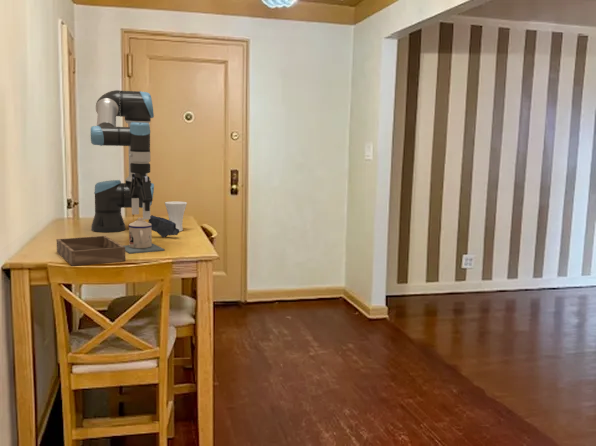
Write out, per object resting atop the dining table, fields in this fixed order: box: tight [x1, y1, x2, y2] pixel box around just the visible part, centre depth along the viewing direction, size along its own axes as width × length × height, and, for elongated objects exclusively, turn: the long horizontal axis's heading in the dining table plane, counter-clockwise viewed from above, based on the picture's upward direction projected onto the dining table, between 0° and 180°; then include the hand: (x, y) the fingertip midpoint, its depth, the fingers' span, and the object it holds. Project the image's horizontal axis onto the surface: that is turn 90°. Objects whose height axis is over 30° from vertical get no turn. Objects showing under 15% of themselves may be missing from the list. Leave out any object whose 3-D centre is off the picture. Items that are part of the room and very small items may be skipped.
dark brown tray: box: [56, 235, 126, 267], centre depth 204 cm, size 26×18×5 cm
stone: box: [148, 214, 181, 238], centre depth 247 cm, size 14×6×10 cm, turn 102°
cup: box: [164, 200, 188, 232], centre depth 267 cm, size 10×10×14 cm
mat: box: [123, 242, 166, 255], centre depth 221 cm, size 14×14×1 cm
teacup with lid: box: [128, 217, 153, 248], centre depth 221 cm, size 12×9×12 cm
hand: (140, 216), depth 220 cm, fingers open, 13 cm apart
